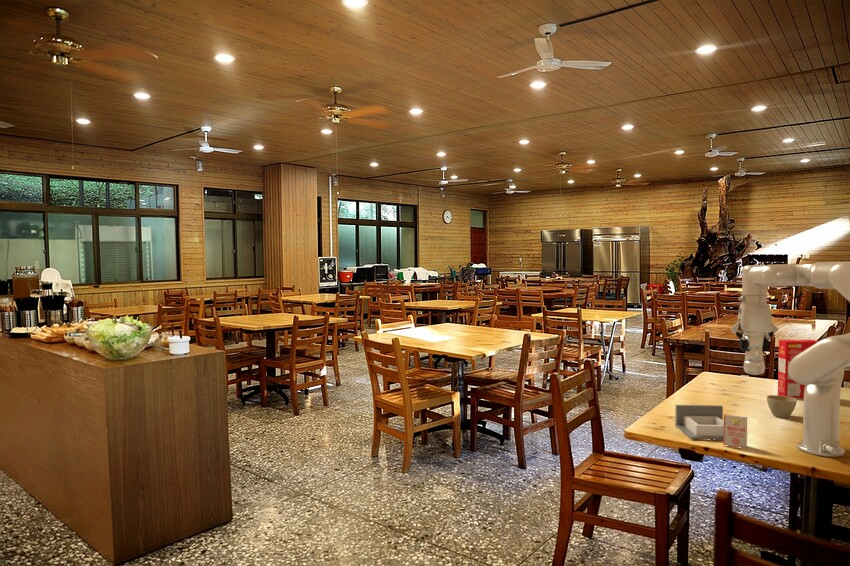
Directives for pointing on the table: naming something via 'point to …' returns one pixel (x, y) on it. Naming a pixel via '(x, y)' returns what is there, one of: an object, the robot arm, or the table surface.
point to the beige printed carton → (735, 431)
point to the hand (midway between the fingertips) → (754, 350)
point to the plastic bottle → (754, 353)
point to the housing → (700, 421)
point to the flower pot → (781, 405)
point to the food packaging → (786, 354)
